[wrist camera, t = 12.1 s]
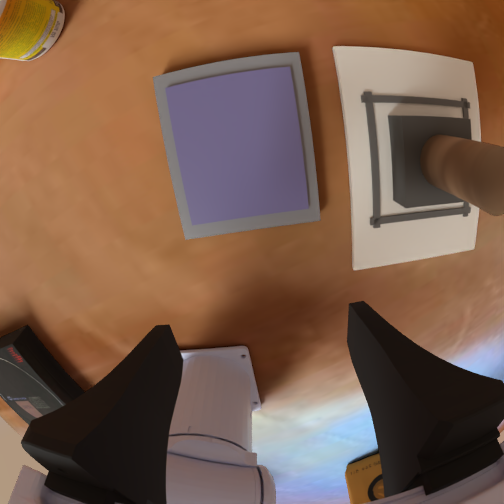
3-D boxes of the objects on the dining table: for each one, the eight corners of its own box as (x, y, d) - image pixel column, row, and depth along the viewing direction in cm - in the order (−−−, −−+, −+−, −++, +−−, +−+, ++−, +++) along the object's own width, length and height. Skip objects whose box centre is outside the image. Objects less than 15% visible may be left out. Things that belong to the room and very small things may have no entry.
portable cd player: (52, 421, 35) (44, 438, 31) (-17, 344, 28) (-30, 360, 25) (116, 418, 32) (108, 441, 28) (30, 322, 26) (12, 343, 22)
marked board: (471, 247, 21) (475, 250, 21) (352, 267, 22) (354, 271, 21) (469, 62, 15) (474, 62, 14) (332, 47, 15) (335, 45, 15)
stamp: (456, 194, 19) (525, 231, 12) (393, 200, 19) (457, 244, 12) (454, 117, 16) (531, 128, 9) (387, 115, 17) (459, 118, 9)
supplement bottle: (79, 3, 13) (-5, -35, 4) (49, 65, 15) (-48, 57, 6) (36, 1, 12) (-43, -22, 3) (10, 58, 14) (-77, 56, 5)
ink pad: (316, 215, 20) (321, 222, 19) (189, 233, 21) (184, 241, 19) (296, 56, 16) (299, 50, 14) (158, 79, 16) (151, 76, 15)
